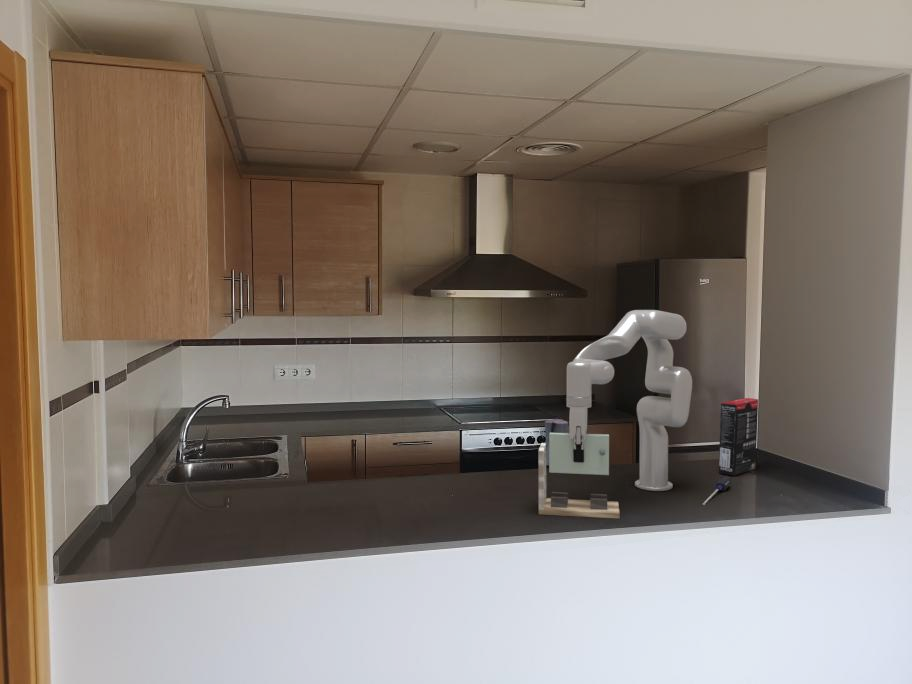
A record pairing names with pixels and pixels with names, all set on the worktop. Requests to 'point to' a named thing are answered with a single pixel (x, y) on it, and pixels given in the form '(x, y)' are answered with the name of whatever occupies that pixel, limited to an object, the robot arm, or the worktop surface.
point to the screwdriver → (720, 487)
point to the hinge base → (570, 507)
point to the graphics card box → (738, 436)
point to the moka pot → (554, 431)
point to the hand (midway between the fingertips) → (578, 460)
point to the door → (593, 454)
